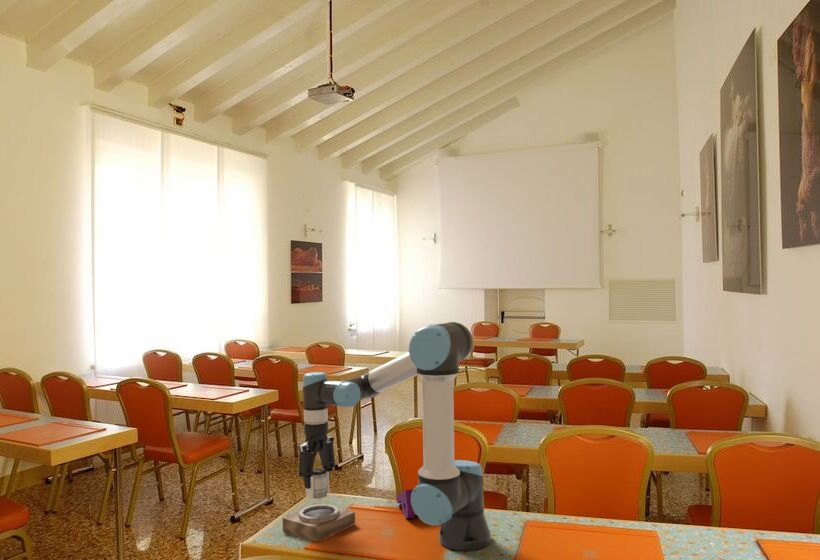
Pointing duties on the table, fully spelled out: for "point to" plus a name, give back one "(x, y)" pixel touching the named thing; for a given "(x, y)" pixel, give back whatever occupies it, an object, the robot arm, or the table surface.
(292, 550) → the table surface
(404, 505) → the mounting bracket
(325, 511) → the mount block
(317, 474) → the camera lens
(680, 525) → the table surface
